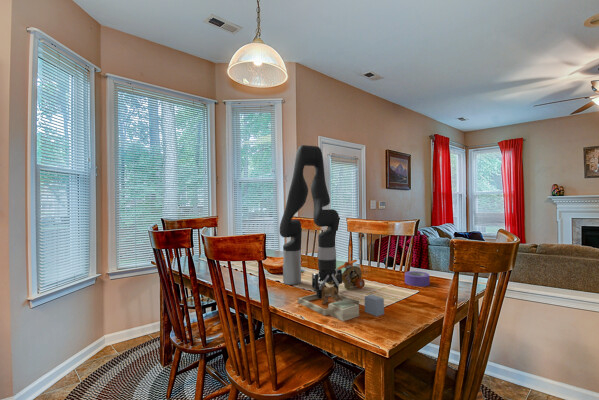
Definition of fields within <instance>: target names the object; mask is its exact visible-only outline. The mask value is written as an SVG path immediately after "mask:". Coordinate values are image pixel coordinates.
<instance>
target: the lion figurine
mask: <svg viewBox="0 0 599 400" xmlns="http://www.w3.org/2000/svg"><path fill="white" fill-rule="evenodd" d="M311 290H312V291H313V292H314V293H316V289H314V288H312V287H311ZM321 290H322V299H321V300H322V301H323V302H322V305H325V304H326V303H328V302H329V298H328V297H331V298H333V300H335V302H337V301H341V298H340V296H339V294H340V293H339V292H338V291H339V290H338V291H337V289H336V288H335V287H333V286H327V285H326V284H325V285H323V287H322V289H321ZM338 293H339V294H338ZM336 297H337V298H336ZM338 297H339V298H338Z"/></svg>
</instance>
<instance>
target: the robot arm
mask: <svg viewBox="0 0 599 400" xmlns="http://www.w3.org/2000/svg"><path fill="white" fill-rule="evenodd" d="M324 165H325V164H324V157H323V152H322V149H321V148H320V147H319V146H318V145H309V144H308V145H307V144H304V145H303V144H301V145H299V147H298V148H297V151H296V153H295V158H294V169H293V173H292V177H291V182H290V186H289V189H288V190H289V191H288V194H287V195H288V196H287V200H286V205H285V208H284V211H283V215H282V217H281V221H280V223H279V235H280V236H281V237H282V238H291V240H290V241H288V242H287V243H284V244H283V245H282V246H283V247H282V251H283V253H282V254H283V255H282V257H283V258H282V259H283V261H282V263H283V264H282V278H283V279H282V281H283V284H285V285H293V286H294V285H300V284H302V262H301V261H302V260H301V259H302V258H301V257H302V253H301V247H302V232H303V231H302V224H301V221H300V220H299V219H294V216H295V215H296V214H297V213H298V212H299V211H300V210H301V209H302V208H303V207H304V205H305V204H306V202H307V198H308V194H309V188H308V185H307V181H306V180H305V177H304V169H305V166H306V167H307V166H308V167H314V171H315V173H314V174H315V175H314V177H313V179H312V182H311V185H310V193H311V197H312V201H313V215H312V216H313V222H314V224H315V226H317V227H319V228H320V227H321V228H322V227H326V230H324V231H322V232H320V233H318V237H317V240H318V242H317V243H318V245H317V247H318V248H317V268H318V273H315V272H313V273H312V274H311V289H312V288H314V289H316V292H315V294H317V298H318V299H319V300H323V299H322V290H321V289H322V287H323V285H326V284H328V282H332V283H333V285H332V287H335V288H336V289H337V291H338V293H339V285H341V284H343V281H342V273H343V271H342V269H337V249H336V234H337V230H338V226H339V221H340V216H339V212H338V211H337V210H336V209H329V208H328V209H323V208H324V207H327V206H329V205H330V203H331V198H330V195H329V191H328V188H327V183H326V175H325V174H326V173H325V167H324ZM335 275H336V278H335ZM318 299H317V300H318Z"/></svg>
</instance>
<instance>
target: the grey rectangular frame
mask: <svg viewBox="0 0 599 400" xmlns="http://www.w3.org/2000/svg"><path fill="white" fill-rule="evenodd" d="M338 294H339V296H340V298H341V300H339V301H337V302H336V301H334V302H331V303H330V302H329V303H327V304H328V306H327V308H324V307H321V306H319V305H317V304H315V303H313V302H311V301H315V300H318V298H317V293H313V294H309V295H305V296H299V297H297V303H298V304H299V305H302V306H304V307H306V308H308V309H310V310H312V311H314V312H315V313H318V314H320V315H322V316H331V317H333V318H335V319H338V320H339V321H342V322H345V321H347V320H351V319H355V318H357V317H360V300H358V299H355V298H352V297H350V296H347V295H345V294H343V293H339V292H338ZM336 298H337V297H336ZM338 298H339V297H338Z"/></svg>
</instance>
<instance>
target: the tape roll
mask: <svg viewBox="0 0 599 400" xmlns="http://www.w3.org/2000/svg"><path fill="white" fill-rule="evenodd" d="M404 283H405V284H406V285H408V286H412V287H421V288H422V287H428V286H430V273H428V272H424V271H419V270H418V271H415V270H410V271H405V272H404Z"/></svg>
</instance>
